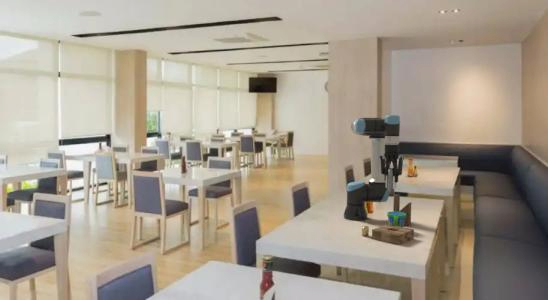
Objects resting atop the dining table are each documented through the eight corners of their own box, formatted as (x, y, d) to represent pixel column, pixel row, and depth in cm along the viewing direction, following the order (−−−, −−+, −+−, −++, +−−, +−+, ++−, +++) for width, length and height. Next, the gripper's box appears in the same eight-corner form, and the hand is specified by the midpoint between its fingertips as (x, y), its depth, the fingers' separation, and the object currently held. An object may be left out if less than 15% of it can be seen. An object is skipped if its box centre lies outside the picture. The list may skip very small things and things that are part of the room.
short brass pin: (364, 234, 249) (364, 225, 249) (369, 235, 246) (369, 226, 246) (360, 235, 246) (360, 226, 246) (366, 237, 244) (366, 227, 243)
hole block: (386, 233, 252) (387, 224, 251) (413, 238, 241) (413, 229, 241) (371, 238, 240) (372, 229, 240) (399, 244, 229) (399, 235, 229)
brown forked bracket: (408, 226, 268) (409, 196, 267) (391, 223, 275) (392, 194, 274) (410, 225, 271) (411, 195, 269) (394, 222, 278) (395, 193, 276)
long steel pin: (389, 195, 243) (390, 167, 242) (395, 195, 240) (396, 168, 240) (386, 195, 240) (386, 168, 239) (392, 196, 238) (392, 168, 237)
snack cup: (403, 234, 248) (404, 216, 248) (384, 232, 253) (384, 215, 252) (407, 228, 263) (408, 211, 262) (389, 226, 267) (389, 209, 266)
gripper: (374, 143, 242) (373, 187, 243) (403, 145, 230) (401, 190, 232) (381, 143, 247) (380, 185, 249) (409, 144, 236) (408, 188, 237)
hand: (391, 187), depth 240 cm, fingers closed on long steel pin, 4 cm apart
